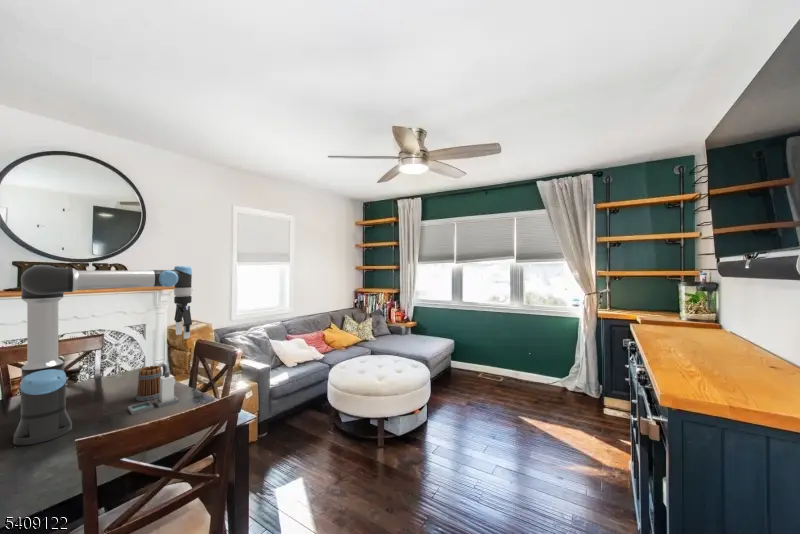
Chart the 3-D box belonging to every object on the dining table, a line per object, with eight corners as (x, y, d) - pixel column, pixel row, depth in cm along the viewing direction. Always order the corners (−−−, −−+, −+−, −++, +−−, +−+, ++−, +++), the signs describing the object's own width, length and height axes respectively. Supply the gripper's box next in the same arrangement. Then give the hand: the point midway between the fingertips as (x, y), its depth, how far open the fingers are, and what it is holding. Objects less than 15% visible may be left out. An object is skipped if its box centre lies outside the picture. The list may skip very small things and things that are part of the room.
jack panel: (131, 418, 139) (131, 412, 139) (126, 410, 146) (126, 405, 146) (180, 405, 152) (180, 400, 152) (174, 398, 159) (174, 393, 159)
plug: (162, 405, 150) (162, 374, 149) (159, 402, 152) (159, 372, 152) (175, 401, 153) (176, 372, 153) (173, 399, 156) (173, 369, 156)
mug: (152, 403, 154) (152, 371, 153) (130, 403, 154) (130, 371, 154) (175, 390, 169) (176, 361, 169) (155, 390, 169) (155, 361, 169)
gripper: (199, 296, 165) (199, 338, 165) (183, 293, 181) (183, 331, 181) (182, 297, 159) (181, 341, 159) (167, 294, 176) (167, 333, 176)
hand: (182, 336), depth 170 cm, fingers open, 13 cm apart
